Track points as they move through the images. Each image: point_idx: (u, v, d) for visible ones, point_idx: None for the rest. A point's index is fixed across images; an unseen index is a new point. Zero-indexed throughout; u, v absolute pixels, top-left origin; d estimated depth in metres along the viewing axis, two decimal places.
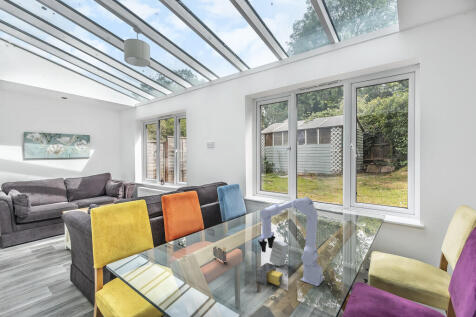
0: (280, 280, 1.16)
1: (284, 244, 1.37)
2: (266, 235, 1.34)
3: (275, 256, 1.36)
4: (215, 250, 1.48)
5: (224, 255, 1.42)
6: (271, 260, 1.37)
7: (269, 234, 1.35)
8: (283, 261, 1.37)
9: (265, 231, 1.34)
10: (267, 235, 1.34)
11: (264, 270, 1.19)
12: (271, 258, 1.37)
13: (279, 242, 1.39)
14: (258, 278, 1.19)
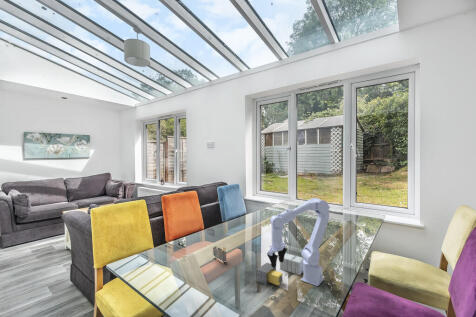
0: (280, 280, 1.16)
1: (302, 270, 1.28)
2: (277, 248, 1.15)
3: (286, 265, 1.30)
4: (215, 250, 1.48)
5: (224, 255, 1.42)
6: None
7: (280, 246, 1.16)
8: None
9: (275, 243, 1.15)
10: (278, 248, 1.15)
11: (264, 270, 1.19)
12: None
13: (302, 265, 1.28)
14: (258, 278, 1.19)
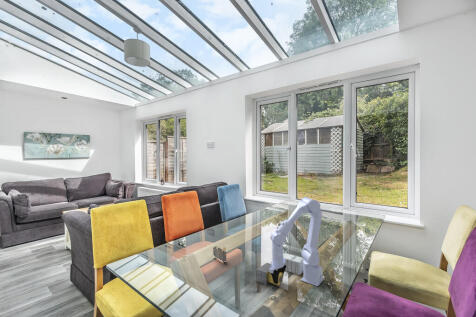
0: (280, 280, 1.16)
1: (302, 270, 1.28)
2: (277, 265, 1.15)
3: (286, 265, 1.30)
4: (215, 250, 1.48)
5: (224, 255, 1.42)
6: None
7: (281, 263, 1.15)
8: None
9: (276, 260, 1.15)
10: (279, 265, 1.15)
11: (264, 270, 1.19)
12: None
13: (302, 265, 1.28)
14: (258, 278, 1.19)
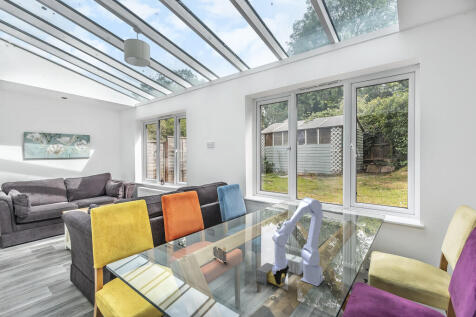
0: (282, 281, 1.15)
1: (302, 270, 1.28)
2: (280, 265, 1.14)
3: None
4: (215, 250, 1.48)
5: (224, 255, 1.42)
6: None
7: (283, 264, 1.14)
8: None
9: (279, 261, 1.14)
10: (281, 265, 1.14)
11: (264, 270, 1.19)
12: None
13: (302, 265, 1.28)
14: (258, 278, 1.19)
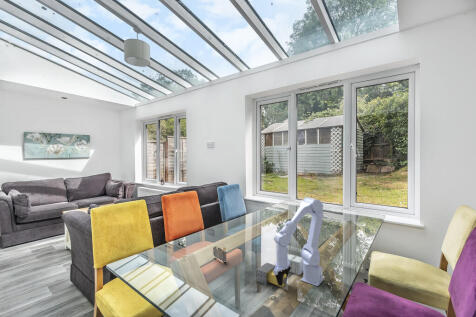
0: (284, 282, 1.14)
1: (302, 270, 1.28)
2: (282, 266, 1.13)
3: None
4: (215, 250, 1.48)
5: (224, 255, 1.42)
6: None
7: (285, 265, 1.13)
8: None
9: (281, 261, 1.13)
10: (283, 266, 1.13)
11: (264, 270, 1.19)
12: None
13: (302, 265, 1.28)
14: (258, 278, 1.19)
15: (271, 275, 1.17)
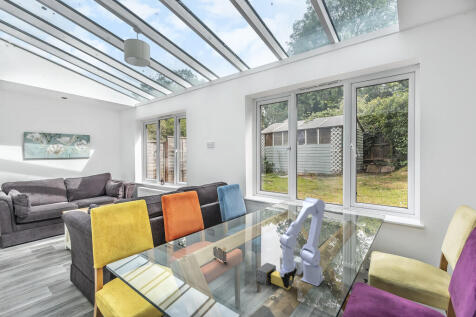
0: (290, 284, 1.12)
1: (302, 270, 1.28)
2: (288, 268, 1.11)
3: None
4: (215, 250, 1.48)
5: (224, 255, 1.42)
6: (281, 259, 1.32)
7: (292, 267, 1.11)
8: None
9: (287, 263, 1.11)
10: (289, 268, 1.11)
11: (264, 270, 1.19)
12: None
13: (302, 265, 1.28)
14: (258, 278, 1.19)
15: (276, 277, 1.15)
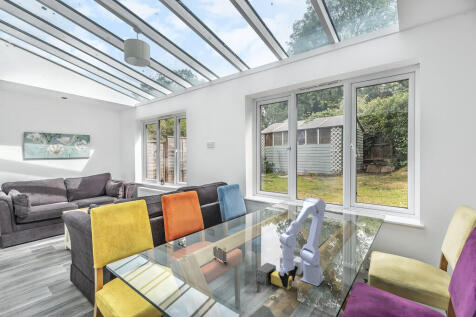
0: (290, 284, 1.12)
1: (302, 270, 1.28)
2: (288, 267, 1.11)
3: None
4: (215, 250, 1.48)
5: (224, 255, 1.42)
6: (281, 259, 1.32)
7: (292, 266, 1.11)
8: None
9: (287, 262, 1.11)
10: (289, 267, 1.11)
11: (264, 270, 1.19)
12: None
13: (302, 265, 1.28)
14: (258, 278, 1.19)
15: (276, 277, 1.15)
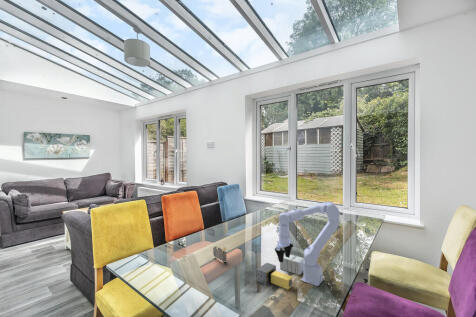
0: (290, 284, 1.12)
1: (302, 270, 1.28)
2: (284, 243, 1.21)
3: (286, 265, 1.30)
4: (215, 250, 1.48)
5: (224, 255, 1.42)
6: None
7: (287, 242, 1.21)
8: None
9: (283, 239, 1.21)
10: (285, 243, 1.21)
11: (264, 270, 1.19)
12: (283, 260, 1.31)
13: (302, 265, 1.28)
14: (258, 278, 1.19)
15: (276, 277, 1.15)
